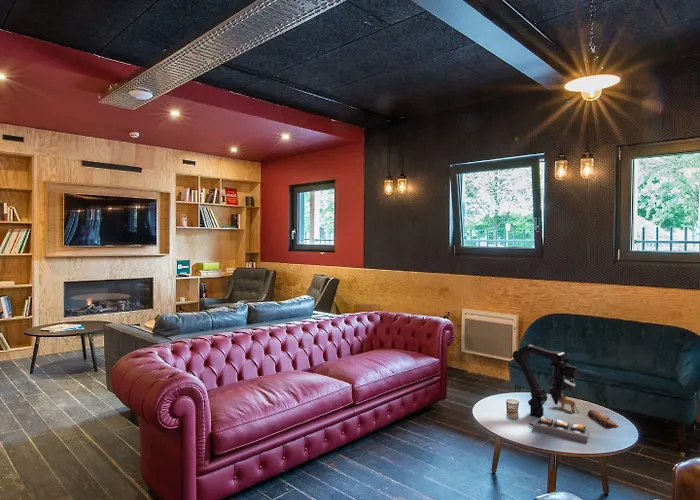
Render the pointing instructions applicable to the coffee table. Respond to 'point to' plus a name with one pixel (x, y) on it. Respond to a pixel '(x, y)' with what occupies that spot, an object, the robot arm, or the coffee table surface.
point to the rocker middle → (561, 423)
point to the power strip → (561, 430)
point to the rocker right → (578, 426)
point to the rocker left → (545, 419)
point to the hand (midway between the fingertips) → (557, 401)
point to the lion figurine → (567, 402)
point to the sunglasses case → (602, 419)
